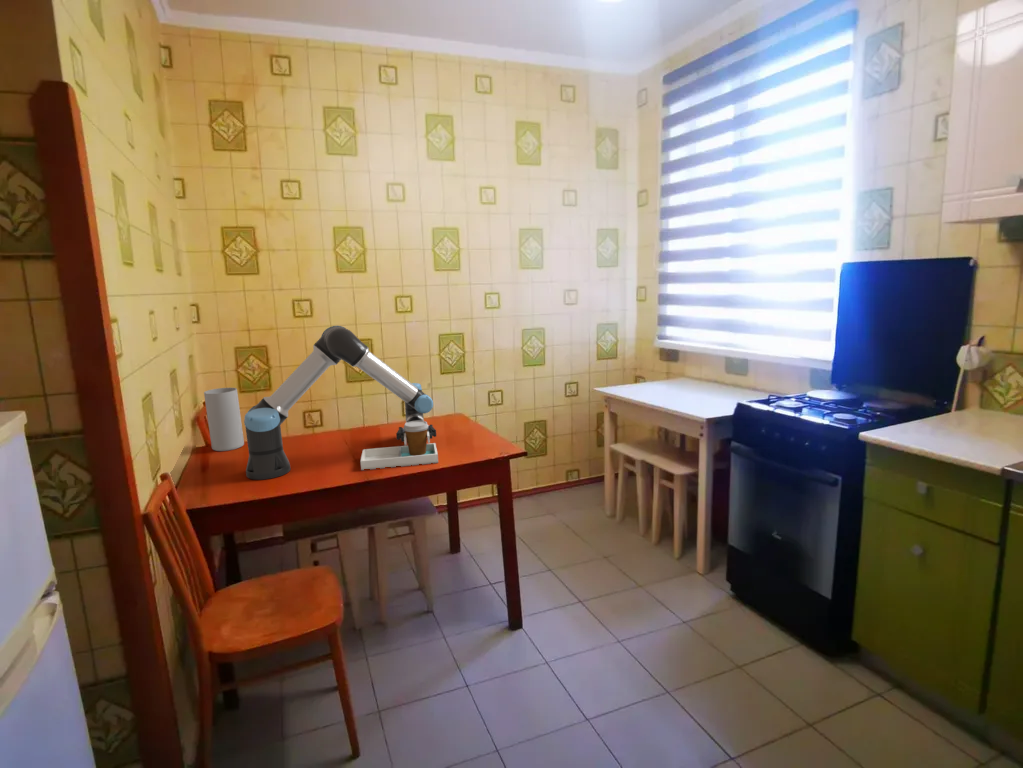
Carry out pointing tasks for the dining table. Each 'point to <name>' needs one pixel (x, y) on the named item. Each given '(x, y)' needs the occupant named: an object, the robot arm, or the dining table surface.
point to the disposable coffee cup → (416, 437)
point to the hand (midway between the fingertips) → (417, 440)
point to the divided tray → (396, 457)
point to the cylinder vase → (224, 419)
